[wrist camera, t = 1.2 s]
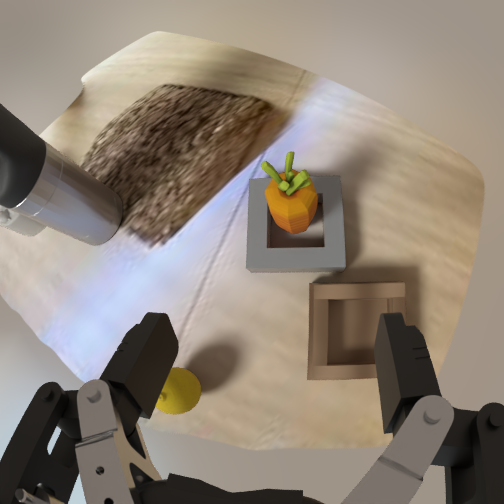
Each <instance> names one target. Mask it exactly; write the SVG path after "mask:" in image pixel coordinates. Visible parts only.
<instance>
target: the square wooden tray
mask: <svg viewBox="0 0 504 504" xmlns="http://www.w3.org/2000/svg"><path fill="white" fill-rule="evenodd" d="M394 312H401V313H402V315H403V318H404V321H405V325H406V295H405V283H403V281H392V282H354V283H309V346H308V373H307V380H346V379H369V378H377V371H376V365H375V358H374V345H375V339H376V334H377V329H378V323H379V318H380V314H381V313H394Z"/></svg>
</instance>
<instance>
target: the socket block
mask: <svg viewBox="0 0 504 504" xmlns="http://www.w3.org/2000/svg"><path fill="white" fill-rule="evenodd" d="M310 178H311V180H312V182H313V185H314V188H315V190H316V193H317V195H318V202H317V203H322V214H323V240H324V247H309V248H270V229H271V212H270V209H269V206H268V203H267V199H266V196H265V190H266V188H267V186H268V185H269V183H270V181H271V180H272V178H257V179H249V202H248V229H247V258H246V268H247V269H248V270H249V271H250V272H251V273H274V272H343V271H344V269H345V267H346V261H345V237H344V220H343V205H342V193H341V181H340V176H310Z"/></svg>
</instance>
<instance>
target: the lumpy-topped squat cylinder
mask: <svg viewBox="0 0 504 504" xmlns="http://www.w3.org/2000/svg"><path fill="white" fill-rule="evenodd" d="M0 226H2V227H5V228H7V229H10V230H12V231H15V232H17V233H20V234H22V235H25V236H35V235H37V234H38V233H40V232H41V231H42V230H43V229H44V228H45V227H46V225H43V224H41V223H39V222H37V221H34V220H32V219H30V218H28V217H26V216H23V215H21V214H19V213H17V212H14V211H12V210H10V209H8V208H6V207H3V206H1V205H0Z"/></svg>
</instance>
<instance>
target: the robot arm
mask: <svg viewBox="0 0 504 504" xmlns="http://www.w3.org/2000/svg"><path fill="white" fill-rule="evenodd" d="M0 205H1V206H3V207H6V208H8V209H10V210H12V211H14V212H17V213H19V214H21V215H23V216H26V217H28V218H30V219H32V220H34V221H37V222H39V223H41V224H43V225H46V226H48V227H50V228H52V229H55V230H57V231H59V232H62V233H64V234H66V235H69V236H71V237H73V238H75V239H78V240H80V241H82V242H85V243H87V244H90V245H100V244H103V243H104V242H106V241H108V240H109V239H110V238H111V237H112V236H113V235H114V233H115V232H116V230H117V229H118V227H119V225H120V222H121V219H122V214H123V205H122V201H121V198H120V197H119V195H118V194H117V193H115V192H114V191H113V190H111V189H110V188H108V187H107V186H106V185H104V184H103V183H102V182H100V181H99V180H97V179H96V178H95V177H93V176H92V175H90V174H89V173H88V172H86V171H85V170H84V169H82V168H81V167H79V166H78V165H77V164H75V163H74V162H73V161H71V160H70V159H68V158H67V157H66V156H64V155H63V154H62V153H60V152H59V151H57V150H56V149H55V148H53V147H52V146H51V145H49V144H48V143H47V142H45V141H44V140H43V139H41V138H40V137H39V136H37V135H36V134H35V133H34V132H33V131H32V130H31V129H29V128H28V127H27V126H26V125H25V124H24V123H23V122H21V121H20V120H19V119H18V118H16V117H15V116H14V115H13V114H12V113H11V112H9V111H8V110H7V109H6V108H5V107H4V106H3V105H2V104H0ZM178 348H179V346H178V340H177V337H176V335H175V332H174V330H173V327H172V325H171V322H170V320H169V317H168V315H167V314H166V313H152V312H148V313H147V314H146V315H145V316H144V318H143V319H142V321H141V323H140V324H136V325H135V326H134V327H133V328H131V329H130V330H129V331H128V332H127V333H126V335H125V337H124V338H123V340H122V343H121V344H120V345H119V346H118V348H117V351H115V353H114V355H113V356H112V358H111V360H110V361H109V363H108V365H107V366H106V368H105V370H104V372H103V373H102V375H101V377H100V378H99V380H91V381H89V382H87V383H85V384H84V385H83V386H82V387H81V388H80V389H79V390H70V391H64V390H63V389H62V388H61V387H60V386H59V384H58V383H56V382H48V383H45V384H44V385H42V386H41V387H40V388H39V389H38V390H37V392H36V394H35V395H34V397H33V399H32V401H31V403H30V404H29V406H28V408H27V410H26V411H25V413H24V415H23V417H22V419H21V421H20V423H19V424H18V426H17V428H16V430H15V432H14V434H13V436H12V438H11V440H10V442H9V444H8V446H7V448H6V450H5V452H4V454H3V456H2V459H1V461H0V504H68V501H69V499H70V496H71V493H72V490H73V488H74V485H75V482H76V480H77V477H78V474H79V473H80V477H81V482H82V487H83V491H84V495H85V499H86V503H87V504H324V503H322V502H320V501H317V500H315V499H312V498H309V497H305V496H303V490H278V489H263V490H256V491H247V492H236V493H232V492H227V491H225V490H222V489H220V488H218V487H215V486H213V485H210V484H208V483H206V482H204V481H201V480H199V479H194V478H189V477H184V476H180V475H175V474H172V473H170V474H169V476H168V479H166V480H162V478H161V476H160V475H159V473H158V471H157V470H156V468H155V467H154V465H153V464H152V462H151V460H150V457H149V454H148V451H147V448H146V445H145V442H144V440H143V437H142V433H141V430H140V427H139V425H138V423H137V421H138V419H139V417H143V418H148V419H150V418H151V415H152V413H153V410H154V408H155V406H156V403H157V401H158V399H159V396H160V394H161V391H162V389H163V387H164V384H165V382H166V380H167V377H168V375H169V373H170V370H171V368H172V366H173V363H174V361H175V359H176V357H177V354H178ZM374 358H375V365H376V371H377V378H378V386H379V393H380V401H381V410H382V420H383V430H384V434H386V433H393V440H392V441H391V443H390V444H389V445H388V447H387V448H386V450H385V451H384V452H383V454H382V455H381V456H380V457H379V458H378V460H377V461H376V462H375V463H374V465H373V466H372V467H371V468H370V470H369V471H368V472H367V474H366V475H365V476H364V477H363V478H362V480H361V481H360V482H359V484H358V485H357V486H356V487H355V488H354V489H353V490H352V492H351V493H350V494H349V495H348V496H347V497H346V498H345V499H344V501H343V502H342V503H341V504H409V502H410V501H411V499H412V498H413V496H414V495H415V494H416V492H417V490H418V489H419V487H420V485H421V484H422V481H423V476H424V474H425V472H426V471H427V469H428V467H429V466H430V465H438V466H445V483H446V504H504V406H503V405H502V404H500V403H489V404H486V405H485V406H483V407H482V408H481V410H480V411H470V410H461V409H457V408H454V407H452V406H451V404H450V403H449V402H448V401H447V400H446V399H445V398H443V397H442V395H441V393H440V389H439V386H438V382H437V378H436V375H435V371H434V368H433V364H432V361H431V359H430V355H429V351H428V349H427V345H426V342H425V339H424V336H423V334H422V333H421V332H420V331H419V330H418V329H417V328H416V326H415V325H413V326H406V325H405V321H404V318H403V315H402V313H401V312H394V313H381V314H380V318H379V323H378V329H377V334H376V339H375V345H374ZM56 426H58V427H59V428H60V429H61V433H60V435H59V437H58V439H57V441H56V443H55V446H54V448H53V450H52V452H51V454H50V455H49V453H48V450H47V446H48V443H49V441H50V439H51V437H52V435H53V432H54V430H55V428H56Z"/></svg>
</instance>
